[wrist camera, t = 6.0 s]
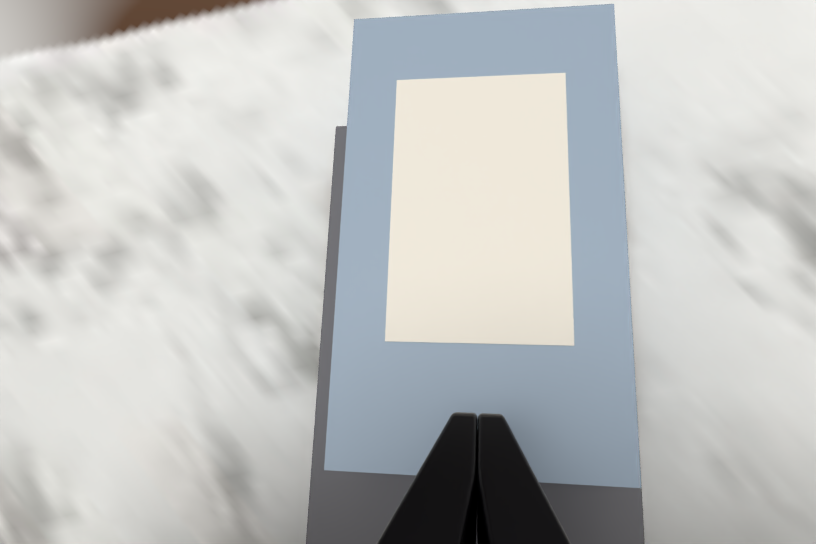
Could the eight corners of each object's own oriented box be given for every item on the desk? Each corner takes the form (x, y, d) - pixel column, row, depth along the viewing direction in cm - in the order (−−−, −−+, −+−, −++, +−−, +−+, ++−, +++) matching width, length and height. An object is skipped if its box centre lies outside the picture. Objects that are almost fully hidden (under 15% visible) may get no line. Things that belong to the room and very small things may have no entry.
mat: (649, 710, 14) (654, 719, 13) (301, 672, 15) (296, 679, 14) (617, 123, 17) (620, 117, 17) (339, 132, 18) (335, 126, 18)
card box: (641, 488, 12) (614, 2, 14) (323, 470, 13) (353, 18, 15) (609, 470, 15) (591, 70, 17) (353, 457, 15) (374, 79, 18)
